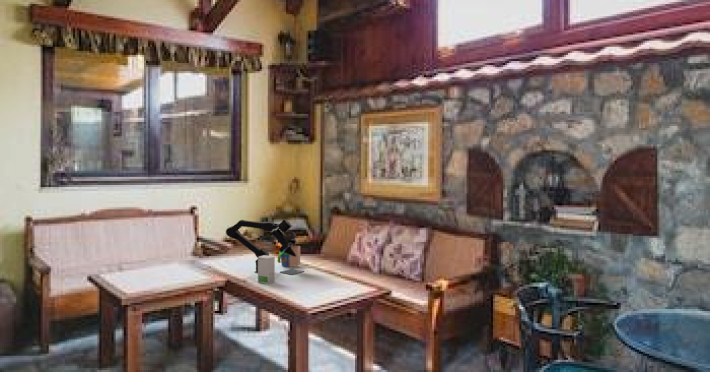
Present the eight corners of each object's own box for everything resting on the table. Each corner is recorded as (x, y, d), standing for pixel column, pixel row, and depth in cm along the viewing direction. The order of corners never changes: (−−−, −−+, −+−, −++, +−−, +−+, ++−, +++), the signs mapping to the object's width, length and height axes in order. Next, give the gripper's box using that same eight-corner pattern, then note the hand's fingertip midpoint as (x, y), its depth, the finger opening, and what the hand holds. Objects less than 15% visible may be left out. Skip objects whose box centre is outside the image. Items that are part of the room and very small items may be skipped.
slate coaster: (291, 275, 331) (291, 274, 331) (279, 272, 338) (279, 271, 338) (304, 271, 339) (304, 270, 339) (292, 269, 346) (292, 268, 346)
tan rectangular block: (289, 265, 335) (289, 247, 334) (292, 264, 340) (292, 245, 339) (297, 266, 334) (297, 247, 333) (300, 264, 339) (300, 246, 338)
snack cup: (292, 262, 366) (291, 248, 365) (301, 265, 359) (301, 250, 358) (273, 266, 355) (273, 251, 355) (282, 269, 348) (282, 254, 347)
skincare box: (257, 282, 314) (256, 256, 313) (264, 280, 320) (263, 254, 319) (269, 284, 310) (268, 258, 309) (275, 281, 316) (274, 255, 315)
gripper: (283, 231, 327) (300, 249, 325) (293, 226, 345) (309, 244, 343) (271, 243, 329) (288, 261, 328) (282, 238, 347) (298, 255, 346)
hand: (296, 255), depth 336 cm, fingers closed on tan rectangular block, 5 cm apart
